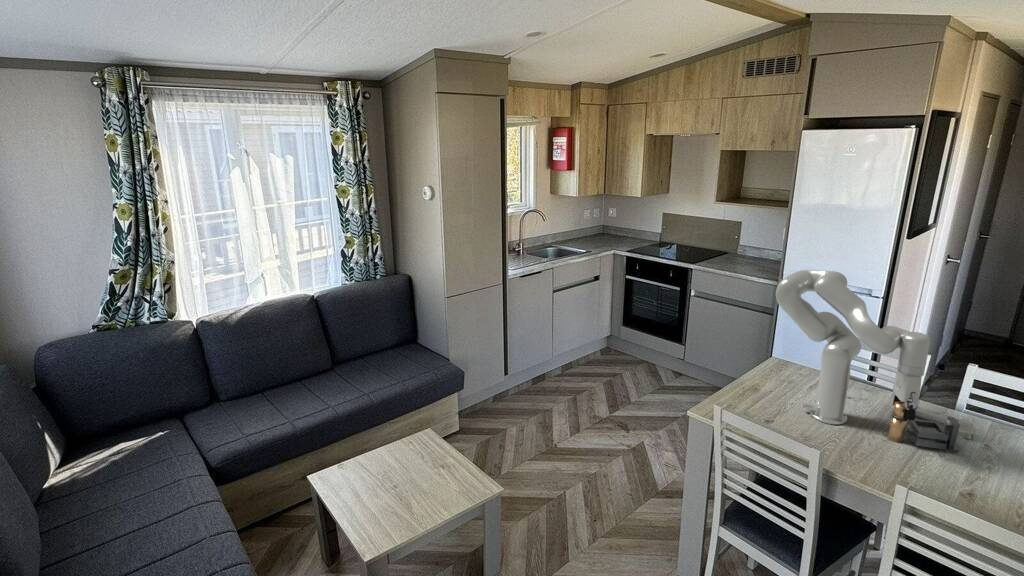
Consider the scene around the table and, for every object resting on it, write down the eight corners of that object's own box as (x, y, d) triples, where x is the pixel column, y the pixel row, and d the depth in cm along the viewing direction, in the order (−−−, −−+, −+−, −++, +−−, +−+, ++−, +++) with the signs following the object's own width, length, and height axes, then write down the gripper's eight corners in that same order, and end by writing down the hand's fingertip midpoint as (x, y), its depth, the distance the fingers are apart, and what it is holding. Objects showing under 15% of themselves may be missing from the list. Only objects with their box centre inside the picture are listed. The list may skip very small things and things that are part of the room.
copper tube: (890, 441, 191) (897, 406, 187) (885, 434, 195) (893, 400, 191) (904, 443, 190) (912, 408, 186) (900, 436, 194) (907, 402, 190)
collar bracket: (905, 434, 195) (910, 409, 192) (947, 439, 191) (953, 414, 188) (914, 447, 187) (920, 422, 184) (958, 453, 183) (965, 427, 180)
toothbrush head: (902, 398, 212) (979, 419, 190) (901, 414, 213) (978, 437, 191) (894, 401, 210) (972, 423, 188) (894, 417, 211) (971, 441, 189)
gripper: (889, 357, 193) (882, 400, 198) (907, 377, 177) (899, 424, 182) (914, 358, 191) (906, 402, 196) (934, 379, 175) (925, 426, 180)
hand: (903, 412), depth 189 cm, fingers open, 9 cm apart
